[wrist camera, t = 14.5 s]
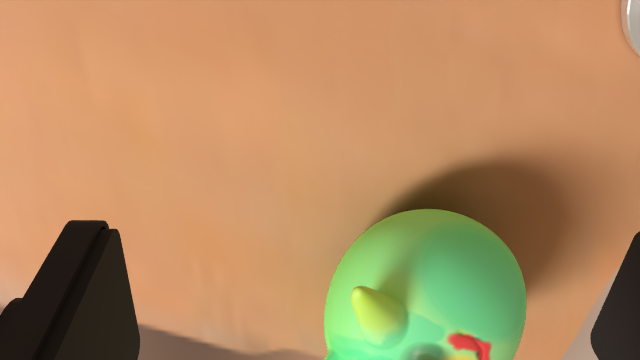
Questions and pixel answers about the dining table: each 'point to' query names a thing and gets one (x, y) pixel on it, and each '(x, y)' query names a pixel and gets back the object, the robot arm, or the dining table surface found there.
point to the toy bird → (426, 292)
